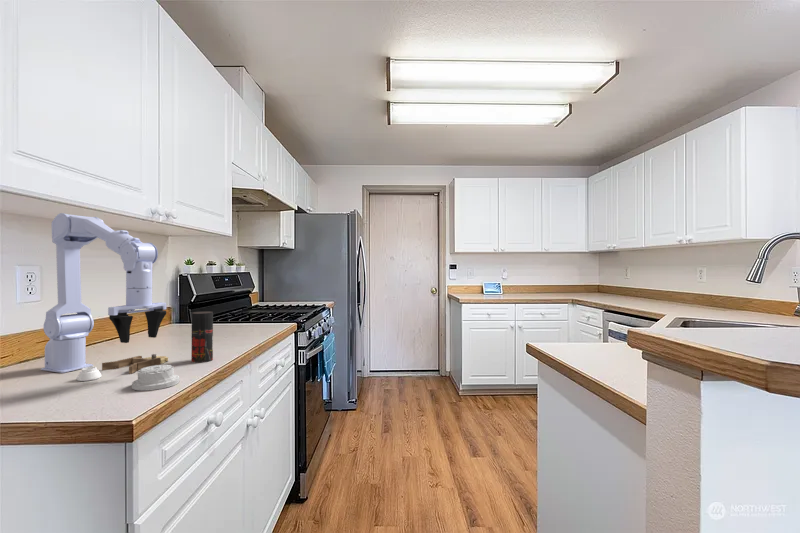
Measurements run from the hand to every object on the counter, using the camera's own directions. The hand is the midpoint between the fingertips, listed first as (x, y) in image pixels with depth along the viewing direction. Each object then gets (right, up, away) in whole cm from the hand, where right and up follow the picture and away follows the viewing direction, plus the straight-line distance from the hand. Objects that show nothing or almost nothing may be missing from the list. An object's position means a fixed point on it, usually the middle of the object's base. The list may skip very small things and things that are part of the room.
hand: (139, 339), depth 101 cm
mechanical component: (+8, -11, -6) cm, 14 cm away
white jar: (-12, -10, -1) cm, 16 cm away
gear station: (-8, -10, +13) cm, 18 cm away
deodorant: (+7, -10, +19) cm, 23 cm away
